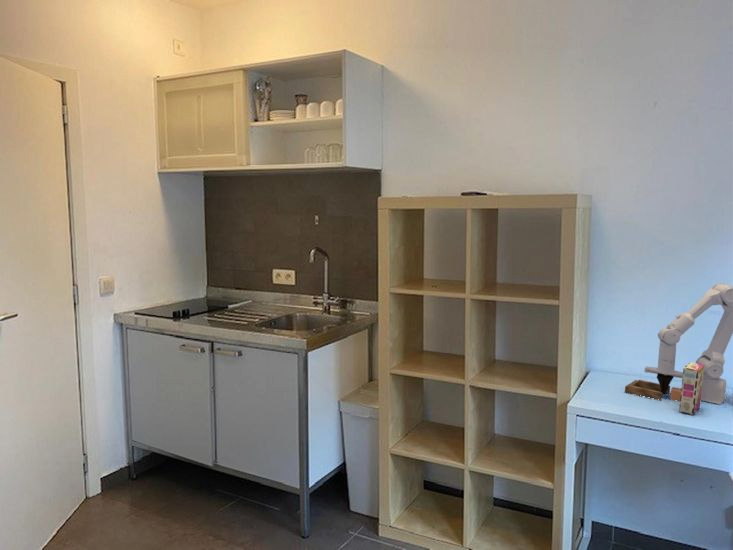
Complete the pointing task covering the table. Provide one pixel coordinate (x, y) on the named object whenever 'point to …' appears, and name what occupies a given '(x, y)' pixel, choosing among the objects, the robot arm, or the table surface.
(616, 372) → the table surface
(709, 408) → the table surface
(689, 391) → the candy bar box
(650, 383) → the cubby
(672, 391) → the cube
